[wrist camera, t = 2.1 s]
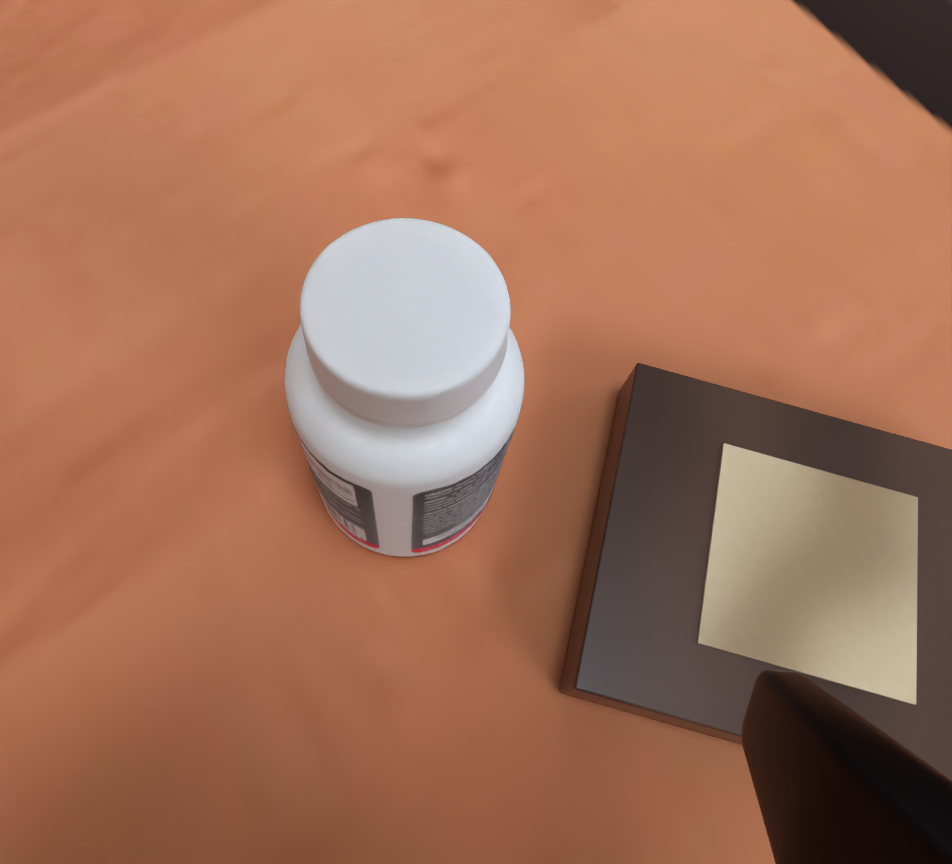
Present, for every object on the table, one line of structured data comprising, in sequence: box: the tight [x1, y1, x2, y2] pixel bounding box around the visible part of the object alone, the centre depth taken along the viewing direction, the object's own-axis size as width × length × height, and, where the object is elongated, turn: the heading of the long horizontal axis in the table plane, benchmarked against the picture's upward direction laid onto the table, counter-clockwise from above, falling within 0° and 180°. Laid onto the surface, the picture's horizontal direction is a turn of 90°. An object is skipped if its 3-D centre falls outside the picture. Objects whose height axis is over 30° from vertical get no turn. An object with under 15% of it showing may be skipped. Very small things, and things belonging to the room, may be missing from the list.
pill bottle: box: [284, 218, 524, 557], centre depth 18 cm, size 5×5×10 cm
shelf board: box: [559, 363, 952, 780], centre depth 21 cm, size 12×10×2 cm
